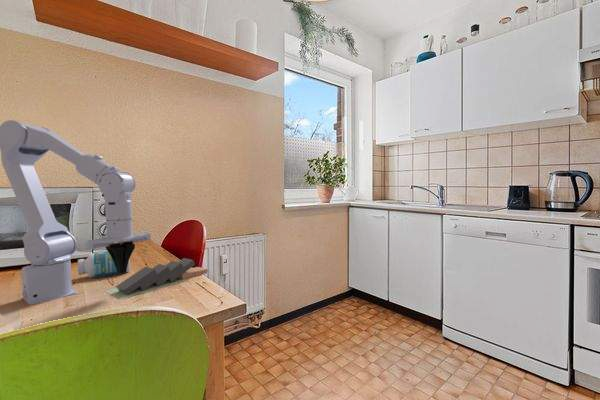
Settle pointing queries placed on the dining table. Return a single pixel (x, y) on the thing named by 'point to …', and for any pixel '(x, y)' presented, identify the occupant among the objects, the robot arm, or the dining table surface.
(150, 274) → the domino
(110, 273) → the pill bottle
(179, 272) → the domino
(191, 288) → the dining table surface
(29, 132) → the robot arm
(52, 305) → the dining table surface
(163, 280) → the domino
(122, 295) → the mat
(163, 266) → the domino
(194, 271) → the domino
